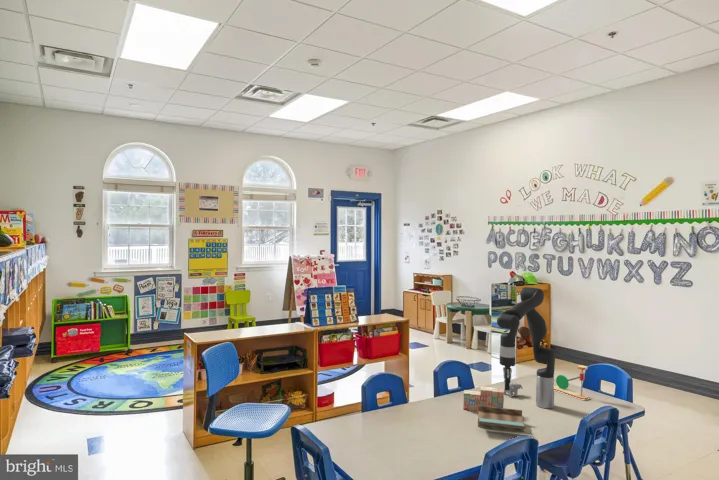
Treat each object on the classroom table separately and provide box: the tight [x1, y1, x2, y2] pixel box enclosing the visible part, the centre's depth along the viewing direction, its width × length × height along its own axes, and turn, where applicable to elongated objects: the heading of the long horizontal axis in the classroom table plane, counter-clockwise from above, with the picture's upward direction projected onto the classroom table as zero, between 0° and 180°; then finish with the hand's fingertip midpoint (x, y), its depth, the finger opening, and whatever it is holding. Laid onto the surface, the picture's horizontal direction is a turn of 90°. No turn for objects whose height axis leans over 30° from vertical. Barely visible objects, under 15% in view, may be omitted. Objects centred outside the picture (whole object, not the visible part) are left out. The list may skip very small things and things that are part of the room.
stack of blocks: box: [462, 386, 505, 412], centre depth 258 cm, size 21×6×12 cm, turn 74°
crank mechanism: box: [554, 364, 591, 400], centre depth 289 cm, size 25×7×19 cm, turn 30°
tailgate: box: [479, 418, 526, 430], centre depth 227 cm, size 21×1×8 cm
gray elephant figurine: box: [503, 381, 524, 398], centre depth 284 cm, size 9×12×8 cm
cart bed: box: [477, 406, 525, 433], centre depth 238 cm, size 22×12×6 cm, turn 76°
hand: (507, 390), depth 228 cm, fingers closed
